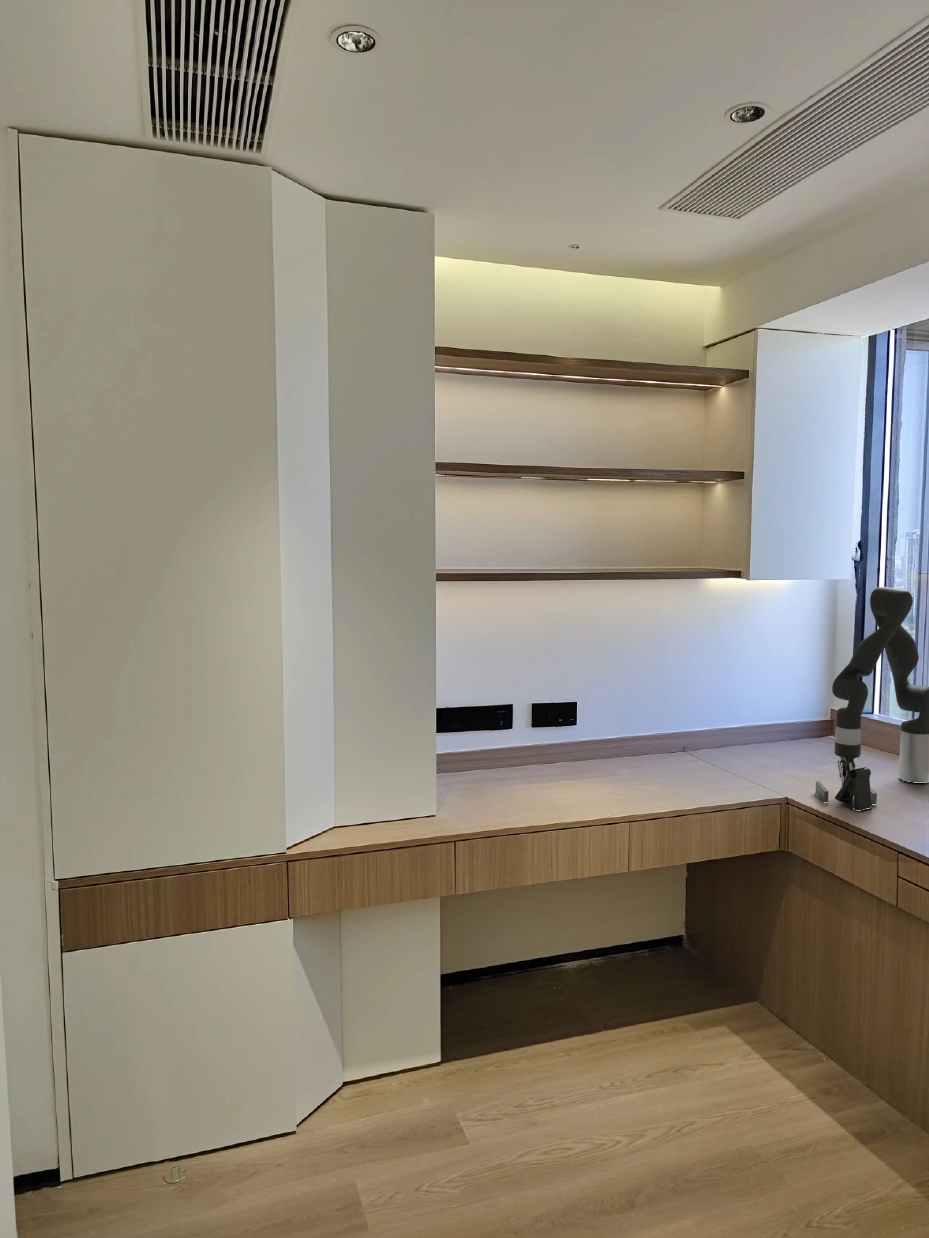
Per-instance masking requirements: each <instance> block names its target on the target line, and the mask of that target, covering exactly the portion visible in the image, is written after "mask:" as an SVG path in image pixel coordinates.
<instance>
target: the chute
mask: <svg viewBox="0 0 929 1238" xmlns="http://www.w3.org/2000/svg"><path fill="white" fill-rule="evenodd" d="M870 790H871V802H872V804H876V805H877V802H878V801H877V798H878V793H877V792H876V791H875V790H874V789H873V788H872V787H870ZM816 793H817V794H818V796H819V797H820V798H821V799H822V800H823V802H828V803H829V790H828V789H827V788H826V786H824V785H823V783H822V782H821V781H820V780H819V781H818V780H817V781H816V780H815V794H816ZM817 794H816V795H817ZM818 796H817V797H818ZM819 797H818V798H819ZM820 798H819V799H820ZM821 799H820V800H821ZM822 800H821V801H822ZM823 802H822V803H823Z"/></svg>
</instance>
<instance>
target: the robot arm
mask: <svg viewBox="0 0 929 1238" xmlns="http://www.w3.org/2000/svg"><path fill="white" fill-rule="evenodd" d="M913 601H914V599H913V596H912V594H911V592H909V591H908V590H905V589H899V588H894V587H889V586H888V587H887V586H878V587H876V588H874V589H873V590H872V591H871V594H870V597H869V606H870V611H871V613H872V615H873V618H874V620H875V623H876V625H877V627H878V628H877V629H876V630H874V631H873V632H872V633H871V634H869V635H868V636H867V637H865V638H864V639H863V640H861V642H860V643H859V644H858V646H857V647H856V648H855V651H854V652H853V654H852V656H851V659H850V662H849V663H848V664H847V665H846V666H845V667H844V668H843V670H841V672H840V673H839V674H837V676H836V678H834V681H833V683H832V687H831V688H832V690H831V691H832V694H833V696H834V697H835V698H837V699H839V700H842V701H843V700H844V701H847V702H848V703H847V706H844V707H839V708H838V709H837V712H836V722H835V723H836V726H835V733H834V755H836V756H838V757H840V759H838V760H837V767H838V775H839V778H840V781H841V787H842V786H843V785H844V783H845V782H846V780H847V779H848V777H849V772H850V770H853V769H856V763H855V759H857V758H860V757H861V751H862V730H861V729H862V728H861V727H862V714H863V711H864V708H865V705H866V702H867V700H868V696H869V690H868V689H869V688H868V686H867V684H866V683H865V682H864V681H863V680H859V678H862V677H868V676H870V675H871V674H872V673H873V672H874V669H875V667H876V665H877V663H878V661H879V659H880V656H881V655H882V653H883V652H884V651H885V654H886V658H887V661H888V665H889V668H890V672H891V675H892V680H893V685H894V692H895V699H896V702H897V705H898V708H899V709H901V710H902V711H907V712H911V713H912V712H913V713H918V717H916V718H913V719H910V720H905V721H902V722H901V724H900V742H899V744H900V745H899V762H898V764H899V765H898V779H899V778H900V779H902V780H903V781H902V782H904V781H910V782H927V781H929V686H927V685H918V684H911V683H910V682H909V679H908V678H909V676H910V674H911V673H912V672H913V670H914V669H915V668H916V666H917V664H918V663H919V659H920V658H919V657H920V655H919V650H918V648H917V644H916V641H915V639H914V637H913V636H912V635H911V634H910V632H909V631H908V630H906V629H905V627H904V626H902V624H903V622H905V619H906V618H907V617H908V615H909V614H910V611H911V609H912V605H913Z"/></svg>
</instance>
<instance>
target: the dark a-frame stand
mask: <svg viewBox="0 0 929 1238" xmlns="http://www.w3.org/2000/svg"><path fill="white" fill-rule="evenodd" d="M871 775H872V771H871V769H870V768H867V767H866V766H864V767H858V768H855V769H853V770H850V772H849V777H848V779H847V780H846V782H845V783H844V785H843V786H842V785H841V787H840V789H839V791H838V792H837V794H836V795H835V797H834V799H835V800H836V801H838V802H840V803H841V804H842V805H845V806H847V807H848V808H850V807H851V808H850V809H852V808H854V809H855V810H863V809H866V808H870V807H872V808H873V806H872V802H871V790H870V788H871V781H870V777H871ZM855 810H854V811H855Z"/></svg>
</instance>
